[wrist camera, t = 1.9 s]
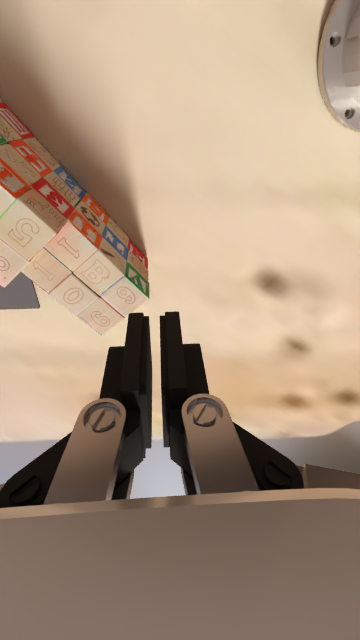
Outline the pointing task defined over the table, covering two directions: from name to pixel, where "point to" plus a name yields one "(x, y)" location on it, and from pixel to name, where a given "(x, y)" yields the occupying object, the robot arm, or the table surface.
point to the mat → (19, 294)
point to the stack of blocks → (63, 235)
